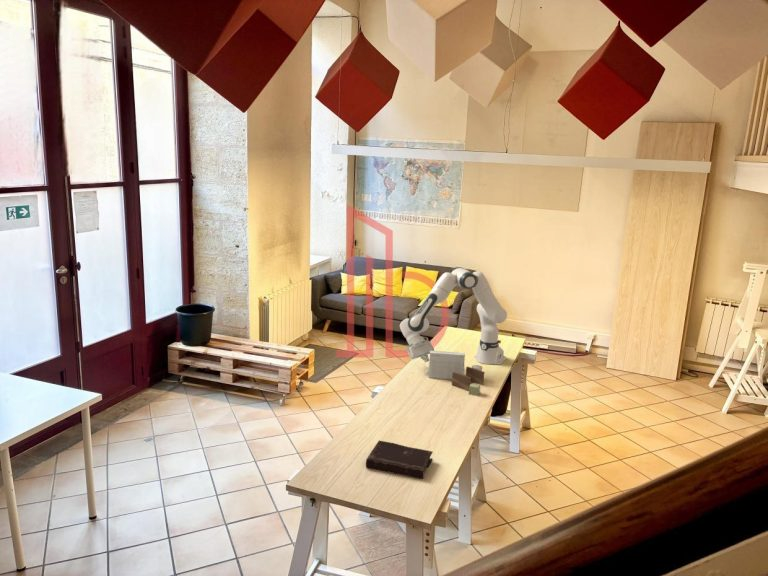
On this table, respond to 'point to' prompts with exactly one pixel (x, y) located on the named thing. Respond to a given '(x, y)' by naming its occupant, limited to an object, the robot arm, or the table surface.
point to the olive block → (474, 389)
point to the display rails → (467, 378)
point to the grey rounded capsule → (477, 367)
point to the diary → (399, 459)
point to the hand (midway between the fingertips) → (427, 361)
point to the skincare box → (445, 364)
